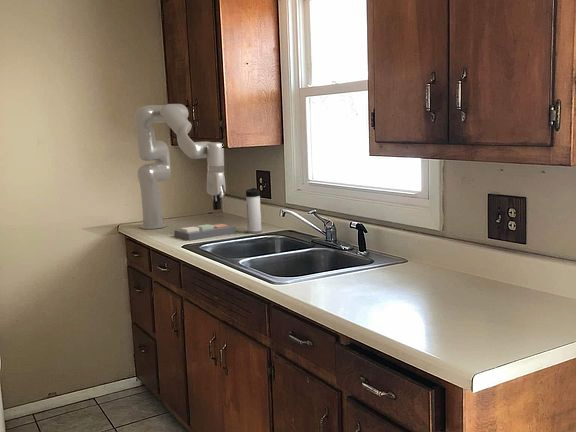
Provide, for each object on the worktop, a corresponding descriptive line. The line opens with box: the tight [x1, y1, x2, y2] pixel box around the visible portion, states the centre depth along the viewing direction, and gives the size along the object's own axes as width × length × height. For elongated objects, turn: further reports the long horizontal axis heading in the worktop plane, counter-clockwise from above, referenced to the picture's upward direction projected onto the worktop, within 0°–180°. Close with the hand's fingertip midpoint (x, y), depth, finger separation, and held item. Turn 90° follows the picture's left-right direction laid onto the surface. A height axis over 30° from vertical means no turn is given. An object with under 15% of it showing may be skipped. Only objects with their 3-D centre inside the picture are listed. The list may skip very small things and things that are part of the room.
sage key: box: [195, 223, 214, 230], centre depth 296 cm, size 6×6×2 cm
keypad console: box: [173, 223, 237, 242], centre depth 296 cm, size 14×24×3 cm, turn 127°
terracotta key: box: [212, 223, 228, 228], centre depth 301 cm, size 6×6×2 cm
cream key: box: [180, 226, 199, 233], centre depth 292 cm, size 6×6×2 cm
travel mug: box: [245, 187, 262, 235], centre depth 297 cm, size 6×7×20 cm
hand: (217, 209), depth 300 cm, fingers closed
